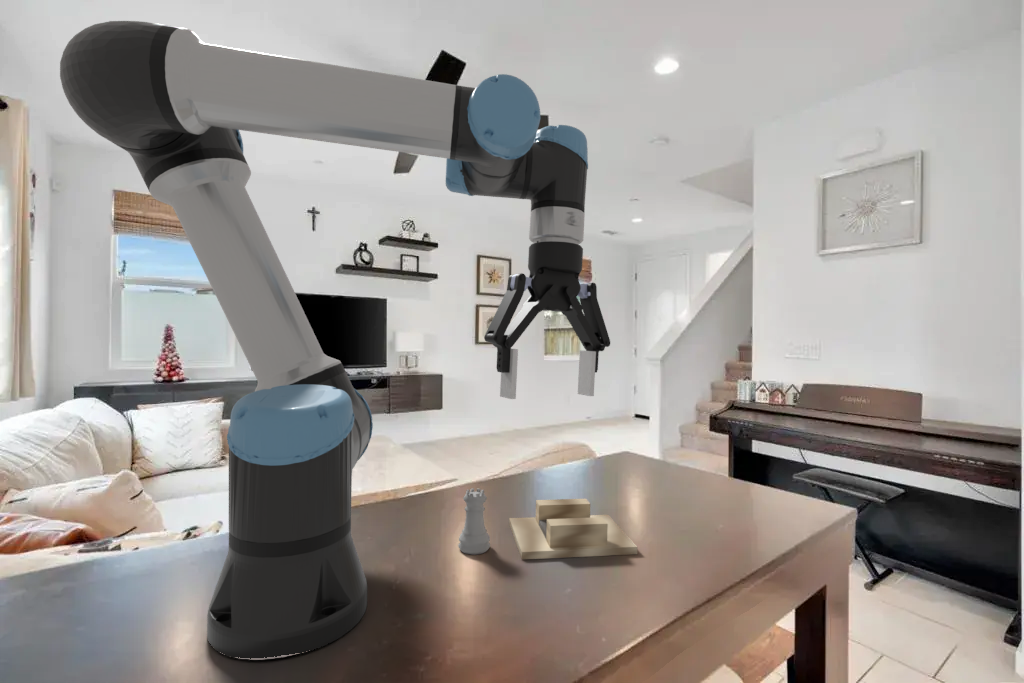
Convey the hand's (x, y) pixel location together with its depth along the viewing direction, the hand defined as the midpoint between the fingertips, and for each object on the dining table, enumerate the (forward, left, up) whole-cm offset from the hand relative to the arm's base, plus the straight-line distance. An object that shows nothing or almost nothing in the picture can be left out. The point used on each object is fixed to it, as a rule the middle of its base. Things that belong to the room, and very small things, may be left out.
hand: (548, 396), depth 69 cm
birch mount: (+4, +2, -21) cm, 22 cm away
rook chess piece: (-10, 0, -21) cm, 24 cm away
